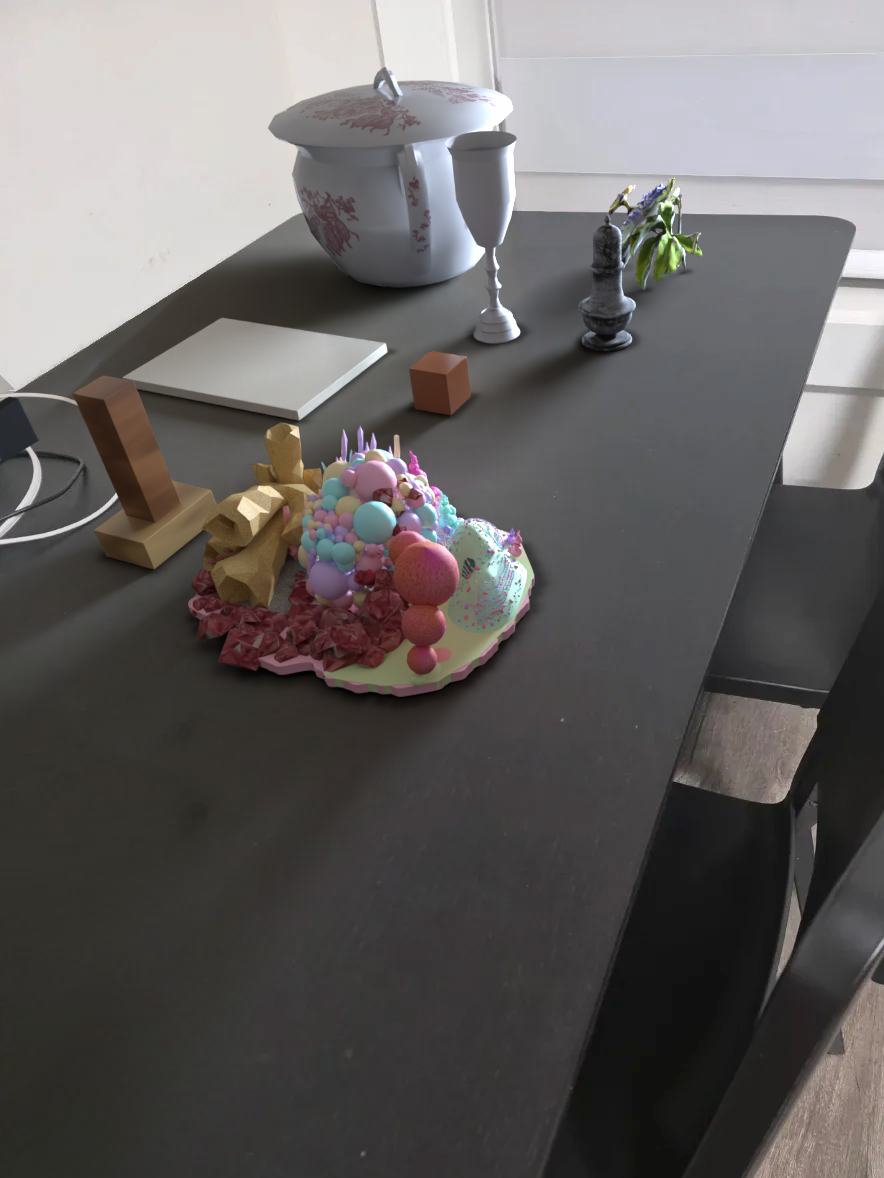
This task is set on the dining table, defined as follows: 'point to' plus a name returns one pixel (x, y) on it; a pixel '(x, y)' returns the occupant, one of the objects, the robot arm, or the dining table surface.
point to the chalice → (487, 213)
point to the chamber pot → (388, 175)
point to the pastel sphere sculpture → (356, 574)
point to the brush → (138, 478)
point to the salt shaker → (607, 294)
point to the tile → (258, 367)
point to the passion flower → (648, 220)
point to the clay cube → (440, 382)
